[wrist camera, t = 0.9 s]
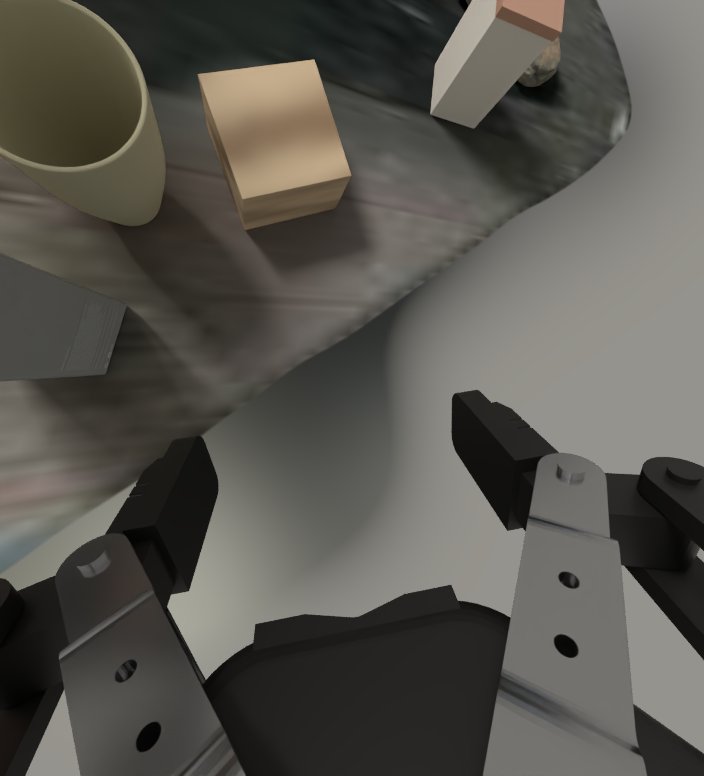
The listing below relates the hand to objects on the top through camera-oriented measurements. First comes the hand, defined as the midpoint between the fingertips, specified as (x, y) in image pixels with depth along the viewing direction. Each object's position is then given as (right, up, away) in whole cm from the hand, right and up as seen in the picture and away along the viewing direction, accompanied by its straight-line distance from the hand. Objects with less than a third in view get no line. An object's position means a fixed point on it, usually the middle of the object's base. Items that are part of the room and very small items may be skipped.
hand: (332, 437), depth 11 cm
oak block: (-7, +22, +22) cm, 31 cm away
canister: (+11, +32, +26) cm, 43 cm away
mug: (-19, +18, +18) cm, 32 cm away
